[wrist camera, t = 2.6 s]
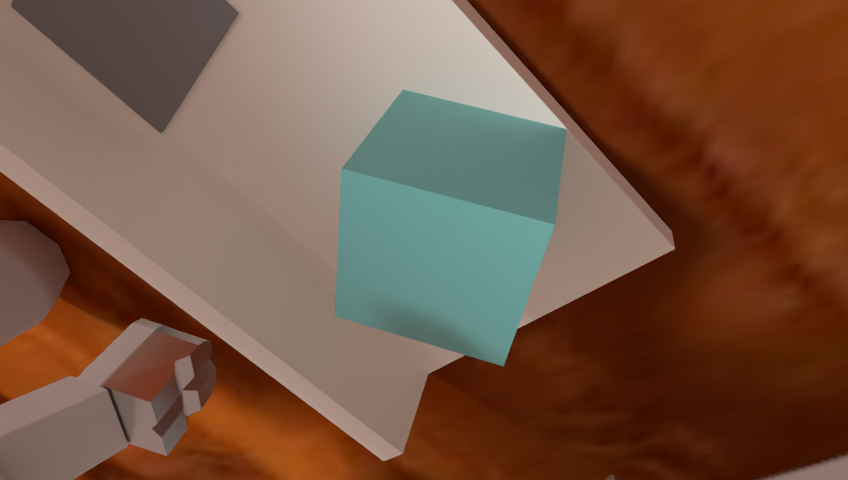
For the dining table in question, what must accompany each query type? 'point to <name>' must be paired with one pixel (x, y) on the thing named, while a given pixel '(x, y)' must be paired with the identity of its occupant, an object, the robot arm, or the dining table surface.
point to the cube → (446, 223)
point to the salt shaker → (27, 277)
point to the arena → (278, 168)
